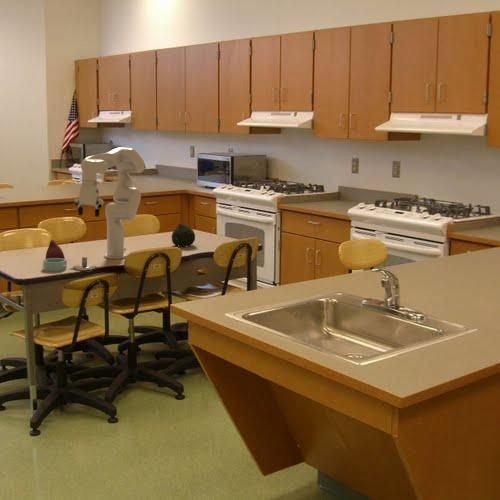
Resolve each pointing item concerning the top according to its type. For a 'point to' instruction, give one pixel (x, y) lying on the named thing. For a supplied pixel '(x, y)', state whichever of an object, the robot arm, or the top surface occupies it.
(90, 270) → the mat
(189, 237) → the squash
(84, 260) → the lid
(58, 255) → the vegetable
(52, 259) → the bowl
